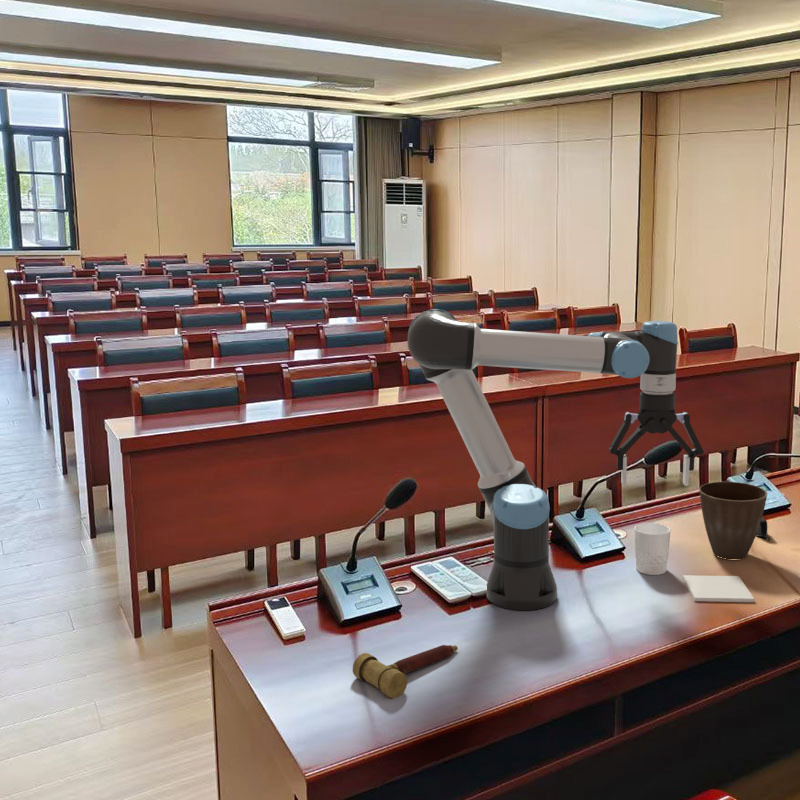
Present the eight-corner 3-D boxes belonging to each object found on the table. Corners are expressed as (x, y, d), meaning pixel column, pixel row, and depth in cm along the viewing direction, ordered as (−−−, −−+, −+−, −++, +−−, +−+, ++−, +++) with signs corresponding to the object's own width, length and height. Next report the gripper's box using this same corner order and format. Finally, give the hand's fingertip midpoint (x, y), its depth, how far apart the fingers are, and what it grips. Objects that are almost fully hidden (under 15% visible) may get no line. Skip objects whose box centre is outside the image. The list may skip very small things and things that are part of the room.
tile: (694, 601, 179) (694, 597, 179) (682, 578, 191) (682, 575, 190) (754, 602, 178) (754, 598, 177) (738, 579, 189) (738, 576, 189)
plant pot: (777, 562, 198) (781, 496, 195) (719, 569, 195) (722, 502, 192) (739, 541, 212) (742, 479, 209) (685, 547, 209) (687, 484, 206)
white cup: (665, 563, 200) (666, 522, 198) (672, 576, 192) (673, 534, 190) (630, 563, 201) (631, 522, 199) (636, 576, 193) (637, 534, 191)
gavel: (439, 627, 164) (476, 644, 157) (438, 649, 165) (475, 668, 158) (352, 656, 151) (387, 677, 144) (351, 680, 152) (387, 702, 144)
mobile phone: (736, 504, 226) (762, 521, 211) (747, 504, 226) (774, 521, 211) (735, 522, 227) (761, 541, 212) (746, 522, 227) (773, 540, 212)
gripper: (601, 394, 186) (599, 488, 190) (720, 394, 183) (715, 489, 187) (598, 388, 193) (596, 478, 197) (712, 388, 190) (707, 479, 194)
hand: (654, 484), depth 192 cm, fingers open, 13 cm apart
